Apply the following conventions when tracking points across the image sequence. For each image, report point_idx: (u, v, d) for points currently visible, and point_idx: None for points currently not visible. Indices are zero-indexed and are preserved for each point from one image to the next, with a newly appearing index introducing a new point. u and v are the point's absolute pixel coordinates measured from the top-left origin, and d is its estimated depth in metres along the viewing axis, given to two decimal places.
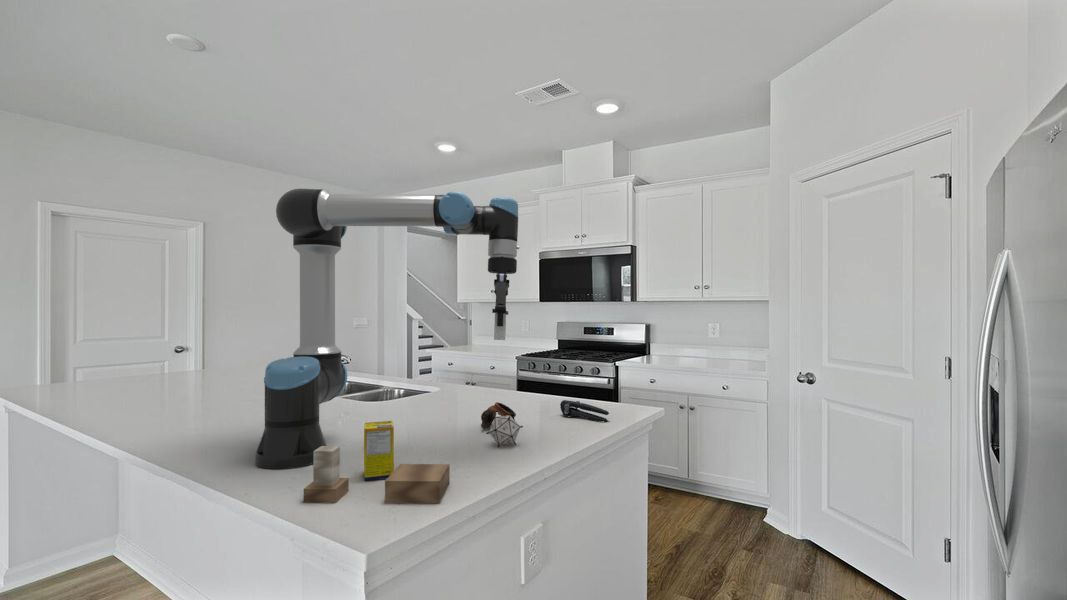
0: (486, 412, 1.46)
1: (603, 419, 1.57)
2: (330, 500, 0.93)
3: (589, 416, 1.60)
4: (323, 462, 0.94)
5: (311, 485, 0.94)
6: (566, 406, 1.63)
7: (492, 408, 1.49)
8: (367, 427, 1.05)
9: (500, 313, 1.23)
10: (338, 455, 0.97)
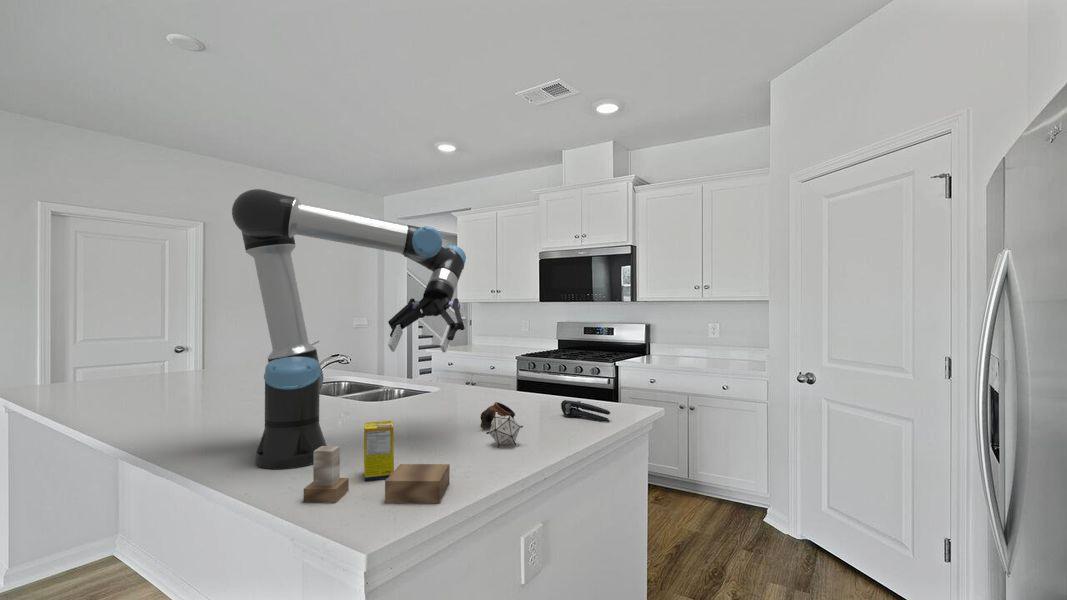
0: (485, 412, 1.46)
1: (605, 419, 1.57)
2: (330, 500, 0.93)
3: (590, 415, 1.60)
4: (323, 462, 0.94)
5: (311, 485, 0.94)
6: (567, 406, 1.63)
7: (491, 408, 1.50)
8: (367, 427, 1.05)
9: (455, 329, 1.27)
10: (338, 455, 0.97)
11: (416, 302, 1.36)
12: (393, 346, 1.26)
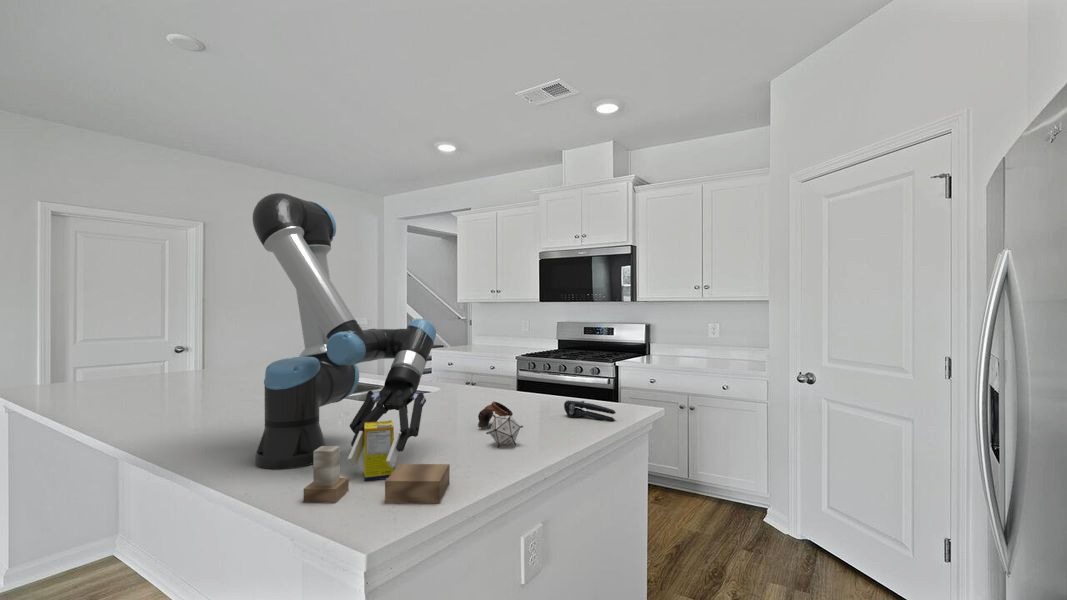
0: (483, 411, 1.47)
1: (610, 418, 1.58)
2: (330, 500, 0.93)
3: (595, 415, 1.60)
4: (323, 462, 0.94)
5: (311, 485, 0.94)
6: (571, 406, 1.63)
7: (489, 407, 1.51)
8: (367, 427, 1.05)
9: (406, 436, 1.08)
10: (338, 455, 0.97)
11: (375, 394, 1.17)
12: (354, 459, 1.05)
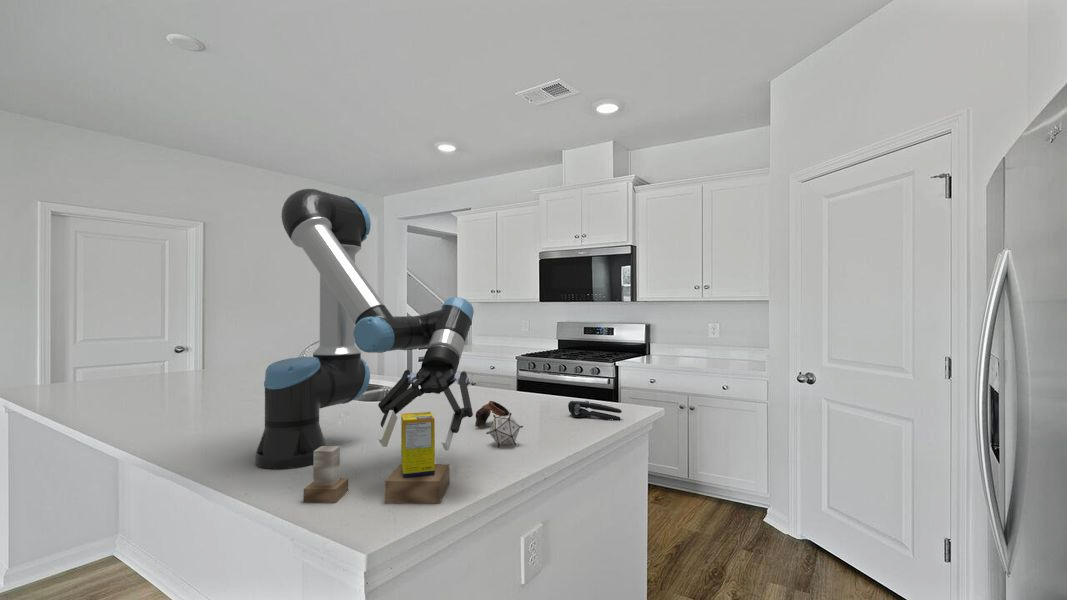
0: (480, 410, 1.48)
1: (617, 417, 1.60)
2: (330, 500, 0.93)
3: (601, 415, 1.61)
4: (323, 462, 0.94)
5: (311, 485, 0.94)
6: (577, 407, 1.62)
7: (486, 407, 1.52)
8: (406, 418, 0.95)
9: (461, 417, 0.98)
10: (338, 455, 0.97)
11: (412, 374, 1.07)
12: (385, 440, 0.97)
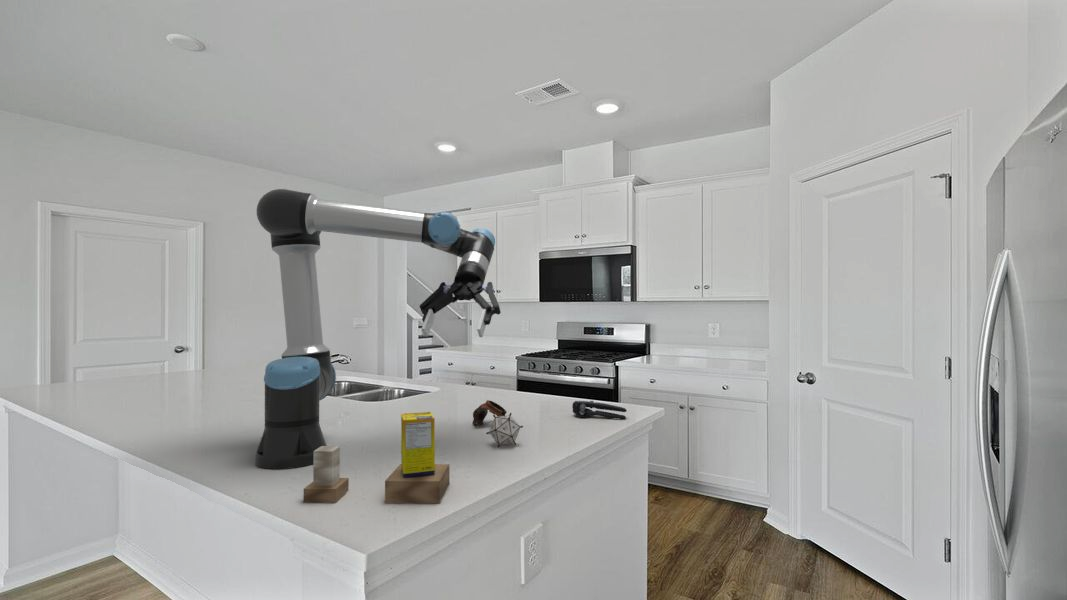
0: (478, 410, 1.49)
1: (622, 416, 1.61)
2: (330, 500, 0.93)
3: (607, 414, 1.62)
4: (323, 462, 0.94)
5: (311, 485, 0.94)
6: (582, 407, 1.62)
7: (483, 406, 1.53)
8: (406, 418, 0.95)
9: (491, 313, 1.21)
10: (338, 455, 0.97)
11: (447, 286, 1.30)
12: (426, 331, 1.20)
